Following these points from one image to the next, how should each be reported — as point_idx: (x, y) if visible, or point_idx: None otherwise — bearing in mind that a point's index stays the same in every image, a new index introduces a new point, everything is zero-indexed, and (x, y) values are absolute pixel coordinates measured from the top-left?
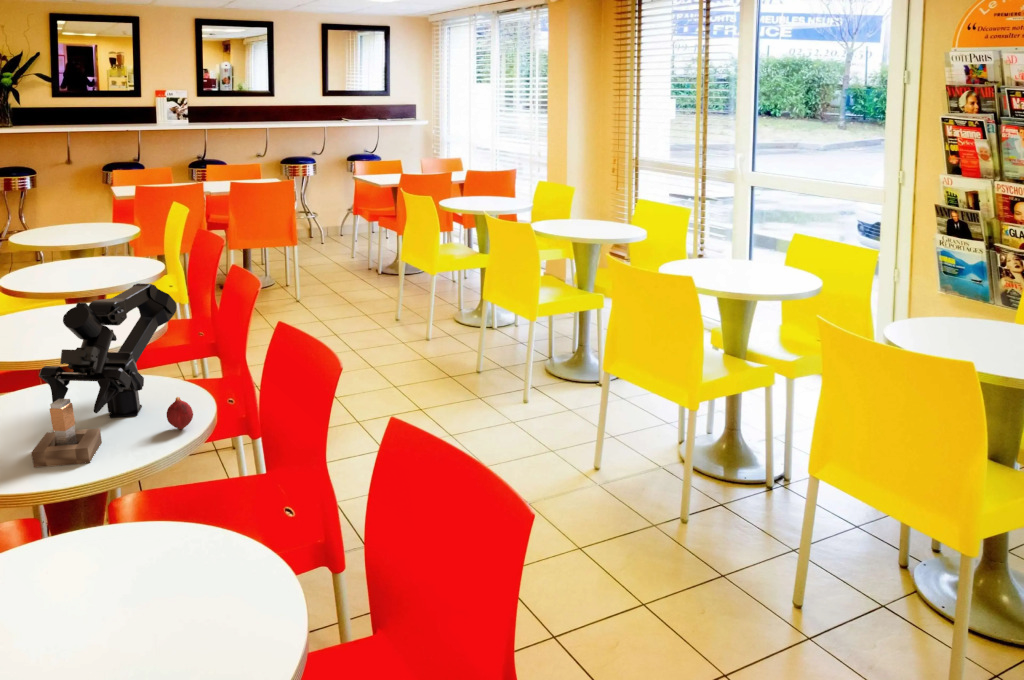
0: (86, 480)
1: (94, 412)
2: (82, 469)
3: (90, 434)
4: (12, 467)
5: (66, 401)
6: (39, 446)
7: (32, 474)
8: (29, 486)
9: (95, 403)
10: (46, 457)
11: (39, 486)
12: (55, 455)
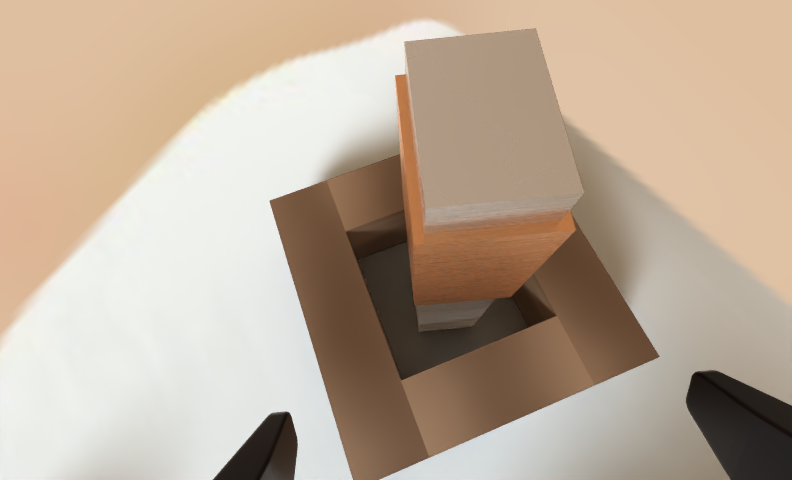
0: (229, 110)
1: (290, 422)
2: (291, 179)
3: (356, 370)
4: (581, 147)
5: (415, 136)
6: None
7: None
8: (397, 48)
9: (251, 473)
10: None
11: (364, 53)
12: None
